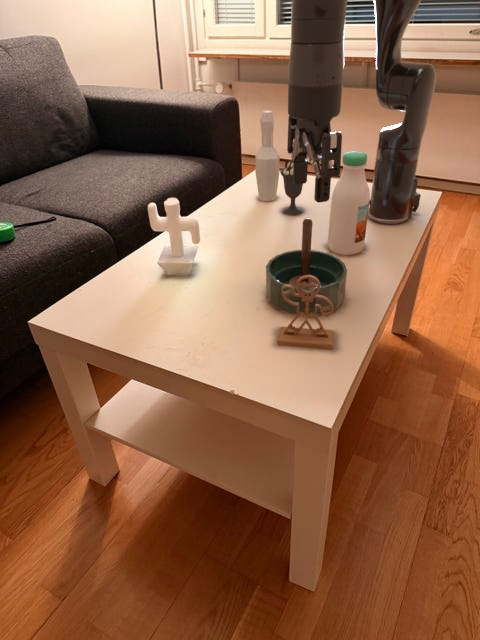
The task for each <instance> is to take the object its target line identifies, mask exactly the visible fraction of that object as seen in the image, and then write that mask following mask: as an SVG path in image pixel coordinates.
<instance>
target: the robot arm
mask: <svg viewBox="0 0 480 640" xmlns="http://www.w3.org/2000/svg"><path fill="white" fill-rule="evenodd" d="M348 2H349V1H348V0H291V10H290V11H291V12H290V14H291V17H290V18H291V19H290V49H289V55H288V56H289V57H288V75H287V76H288V78H287V79H288V81H287V84H288V85H287V86H288V87H287V88H288V89H287V114H288V121H287V122H288V123H287V126H288V127H287V149H286V150H287V153H288V154H289V155H290V157H291V160H293V161H294V165H293V182H294V183H295V184H296V185H298V184H303V185H304V184H306V183H307V182H308V173H307V171H308V166H309V164H310V165H312V166H313V170H314V175H315V179H314V197H313V199H314V201H315V202H316V203H317V204H318V203H324V202H325V203H326V202H328V201H329V200H330V199H331V198H330V197H331V184H332V183H331V182H332V178H334V177H340V176H341V165H342V164H341V163H342V145H343V144H342V143H343V134H342V132H341V131H335V132H332V128H331V121H332V120H333V119H334V118H336V117H338V116H339V115H340V113H341V109H342V108H341V107H342V95H343V83H344V69H345V41H344V40H345V30H346V15H347V6H348ZM421 2H422V0H373V3H374V15H375V16H374V17H375V33H376V34H375V36H376V41H375V42H376V49H375V51H376V53H375V55H376V57H375V58H376V59H375V60H376V61H375V94H376V95H375V96H376V101H377V103H378V105H379V107H381V109H385V110H388V111H394V112H403V113H404V116H403V120H402V122H401V123H398V124H394V125H391V126H390V125H389V126H387V127H383V128H382V129H381V130H379V133H378V138H377V145H376V153H375V161H374V169H373V177H372V183H371V191H370V200H369V210H368V218H369V219H370V220H371V221H373V222H374V223H375V222H376V223H379V224H385V225H397V224H402V223H405V222H406V221H407V220H410V219H412V215H413V213H416V212H417V211H418V209H419V207H420V201H421V196H422V195H421V194H420V193H418V192H417V189H418V182H419V179H418V178H417V177H416V173H417V168H418V163H419V157H420V151H421V145H422V142H423V141H422V140H423V137H424V134H425V131H426V127H427V124H428V119H429V114H430V110H431V107H432V101H433V97H434V95H435V90H436V83H437V73H436V72H437V71H436V68H435V66H434V65H433V64H431V63H426V62H415V61H403V59H402V42H403V37H404V34H405V32H406V29H407V28H408V26H409V24H410V22H411V20H412V18H413V17H414V15H415V13H416V11H417V10H418V8H419V6H420V4H421Z"/></svg>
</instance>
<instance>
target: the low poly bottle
mask: <svg viewBox="0 0 480 640" xmlns="http://www.w3.org/2000/svg"><path fill="white" fill-rule="evenodd" d="M259 122H260V131H261V146H260V148H259V150H258V151H257V153H256V154H255V155H254V163H255V167H254V169H255V177H256V178H255V179H256V180H255V181H256V186H257V194H258V199H259V200H260V201H262V202H273V201H275V200H277V194H278V186H279V178H280V164H281V163H280V157H281V155H280V154H279V153H278V151H277V150H276V148H275V147H274V129H275V127H274V126H275V117H274V115H273V111H272V110H262V112H261V116H260V121H259Z"/></svg>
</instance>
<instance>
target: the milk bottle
mask: <svg viewBox="0 0 480 640" xmlns="http://www.w3.org/2000/svg"><path fill="white" fill-rule="evenodd" d="M367 162H368V154H367V153H365V152H363V151H356V150H355V151H353V150H352V151H347V152H344V154H343V155H342V164H341V165H342V171H341V173H340V175H339V178H338V180H337V181H336V183H335V186H334V188H333V191H332V195H331V202H330V211H329V222H328V223H329V224H328V233H327V234H328V236H327V247H328V249H329V250H330V251H331V252H333V253H335V254H339V255H343V256H351V255H356V254H359V253H361V252H362V251H363V249H364V247H365V240H366V233H367V225H368V220H369V219H368V218H369V217H368V211H369V206H370V204H369V201H370V199H371V192H370V187H369V184H368V181H367V178H366V173H365V171H366V170H365V168H366V167H367Z"/></svg>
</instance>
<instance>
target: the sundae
mask: <svg viewBox="0 0 480 640" xmlns="http://www.w3.org/2000/svg"><path fill="white" fill-rule="evenodd" d="M293 165H294V161H293V160H292V159H291V160H285V162H284V169H281V170H279V174H280V176H282V179H283V188H284V192H285V195H286V196H287V197H288V198H289V199H290V205H289V206H288V207H284V208H283V210H282V212H283V213H284V214H286V215H288V216H295V215H296V216H297V215H300V214H301V213H303V209H302V208H301V207H299V206H296V199H297V198H298V197H300V195H301V194H302V190H303V187H304V184H298V185H296V184H295V183H294V182H293ZM308 173H309V171H308V170H307V174H308Z"/></svg>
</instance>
